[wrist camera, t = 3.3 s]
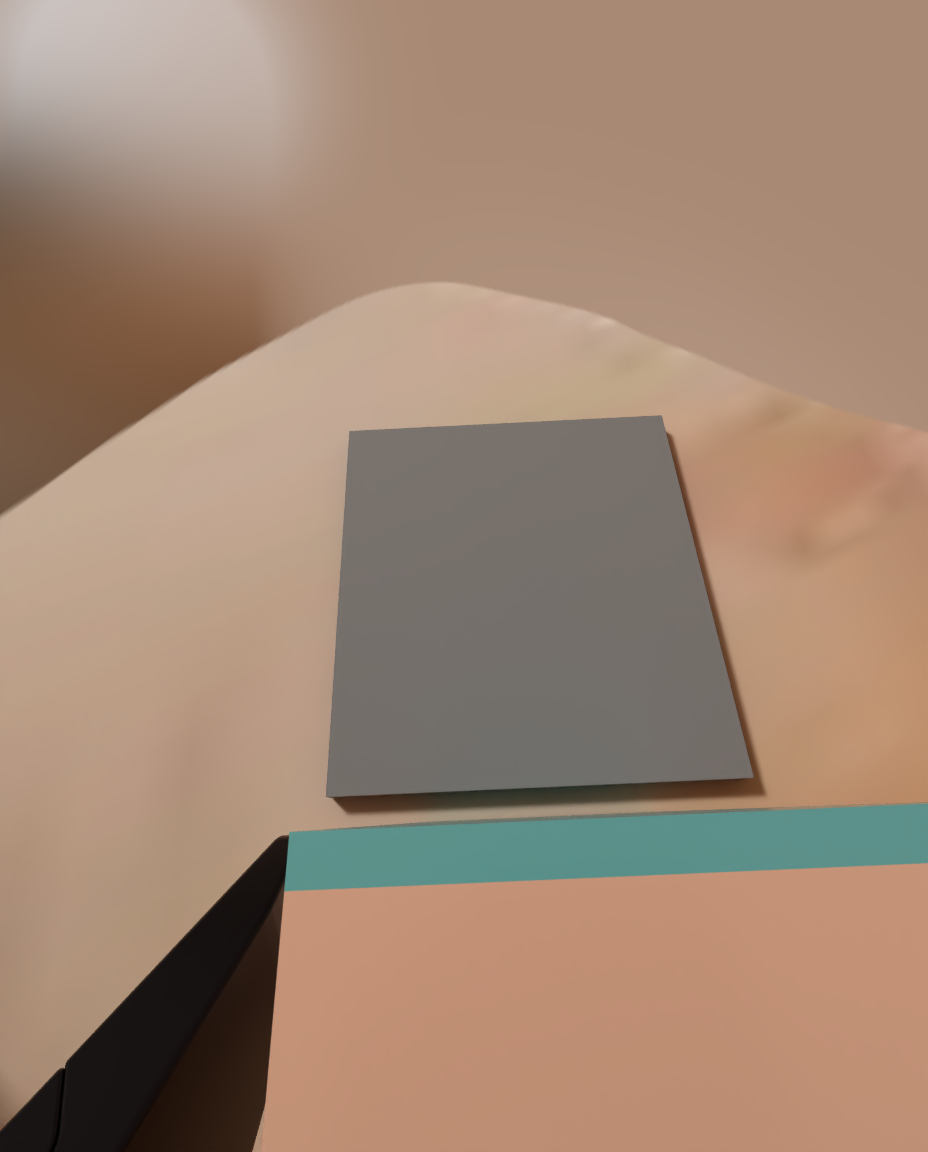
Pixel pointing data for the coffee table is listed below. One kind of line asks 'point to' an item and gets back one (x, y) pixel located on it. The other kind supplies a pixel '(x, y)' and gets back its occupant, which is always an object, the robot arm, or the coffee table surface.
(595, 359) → the coffee table surface
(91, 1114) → the robot arm
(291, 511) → the coffee table surface
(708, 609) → the mat
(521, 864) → the tile
